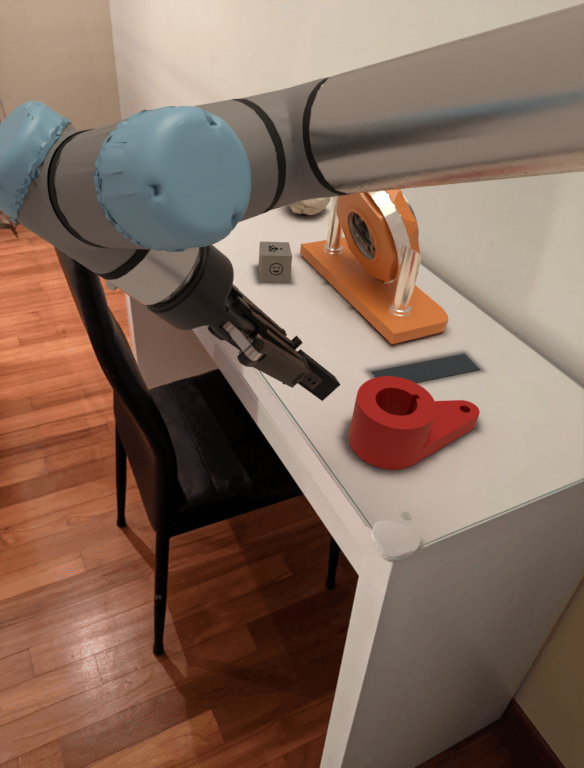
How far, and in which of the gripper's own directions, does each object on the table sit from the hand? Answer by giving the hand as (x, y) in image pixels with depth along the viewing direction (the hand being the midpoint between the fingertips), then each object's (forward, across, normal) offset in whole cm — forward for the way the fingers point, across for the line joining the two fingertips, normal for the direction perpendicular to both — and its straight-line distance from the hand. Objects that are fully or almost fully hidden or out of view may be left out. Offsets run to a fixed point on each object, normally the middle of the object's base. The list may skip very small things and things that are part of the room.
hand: (328, 388), depth 66 cm
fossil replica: (+26, -66, +11) cm, 72 cm away
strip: (+23, -11, +8) cm, 27 cm away
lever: (+17, 0, +2) cm, 17 cm away
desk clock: (+25, -33, +9) cm, 42 cm away
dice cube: (+15, -42, -1) cm, 44 cm away
